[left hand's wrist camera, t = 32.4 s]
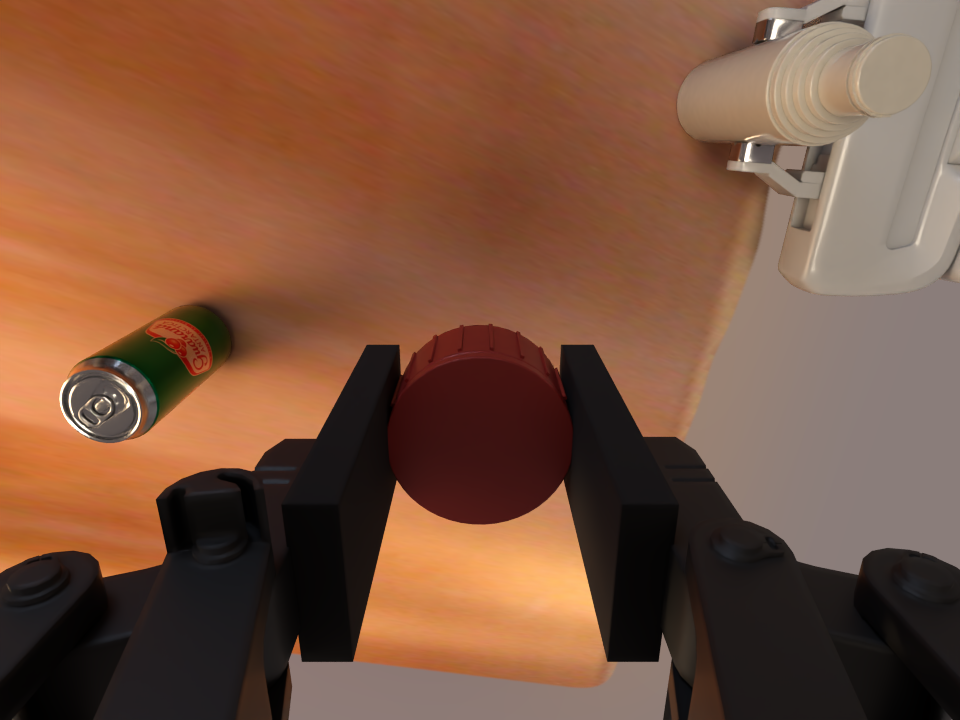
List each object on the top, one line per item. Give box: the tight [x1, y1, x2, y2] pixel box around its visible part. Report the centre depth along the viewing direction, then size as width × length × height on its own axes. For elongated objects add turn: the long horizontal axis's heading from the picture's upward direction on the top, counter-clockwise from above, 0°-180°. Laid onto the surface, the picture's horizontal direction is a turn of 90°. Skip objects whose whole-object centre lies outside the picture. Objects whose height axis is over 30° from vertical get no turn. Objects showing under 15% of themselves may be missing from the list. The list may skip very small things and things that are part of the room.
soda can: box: [60, 305, 231, 443], centre depth 38 cm, size 5×5×12 cm
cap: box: [387, 324, 573, 524], centre depth 13 cm, size 4×4×2 cm
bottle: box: [677, 21, 932, 146], centre depth 30 cm, size 5×5×18 cm
